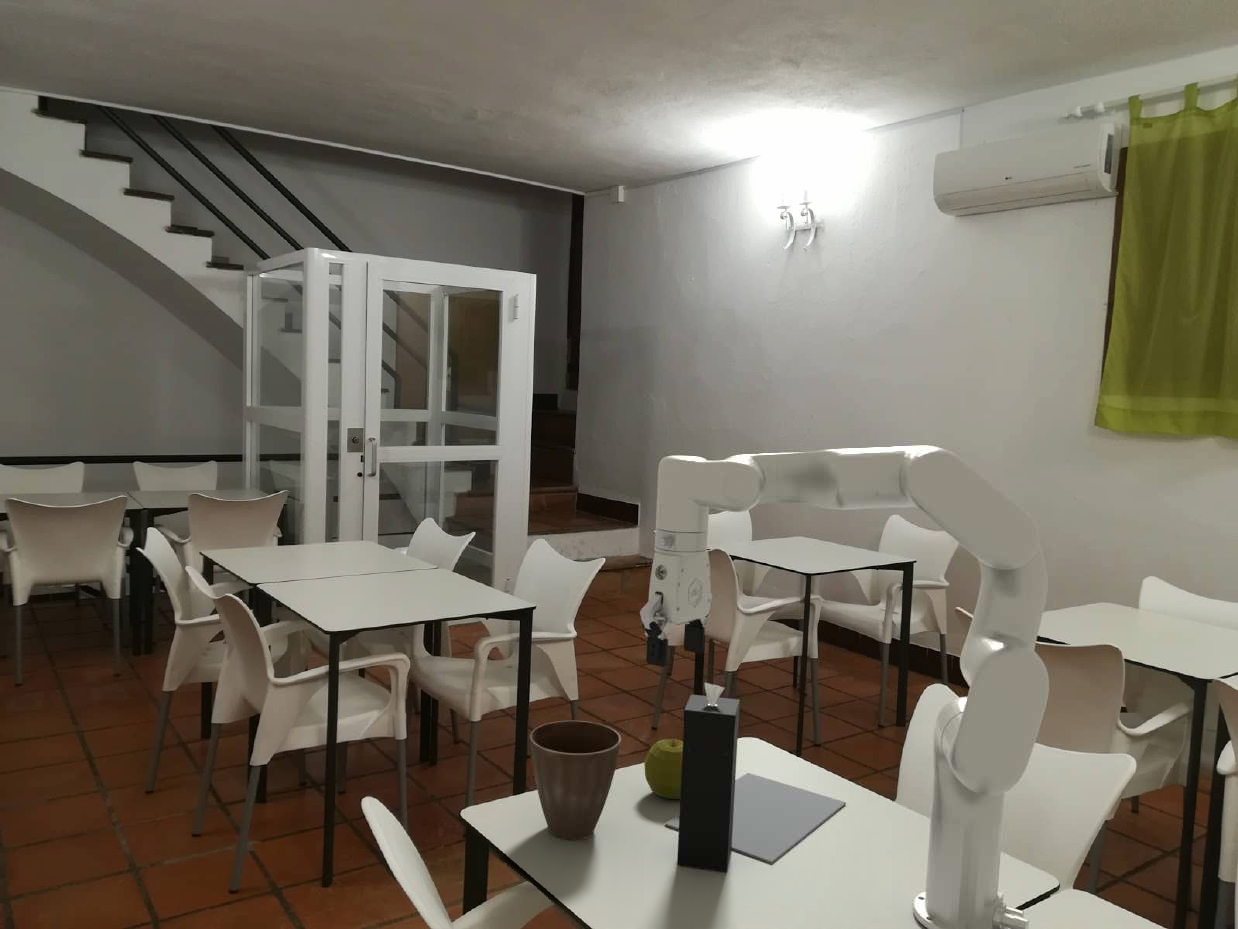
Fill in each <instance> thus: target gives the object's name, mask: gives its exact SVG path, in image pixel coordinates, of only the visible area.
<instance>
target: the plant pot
mask: <svg viewBox="0 0 1238 929" xmlns="http://www.w3.org/2000/svg"><path fill="white" fill-rule="evenodd" d="M529 740H530V751H531V759H532V767H533V768H532V769H533V773H534V779H535V780H534V781H535V784H536V788H537V793H538V798H539V802H540V806H541V809H542V812H543V815H544V816H543V817H544V818H545V822H546V825H547V828H548V830H549V833H550V832H551V833H552V834H551V833H550V834H551V835H552V836H554V835H555V836H554V837H556V838H558V837H559V839H561V838H564V839H563V840H566V839H570V840H569V841H577V839H579V840H583V839H582V838H584V839H586V838H588V837H590V836H591V835H592V834H593V833H594V831H595V829H596V826H597V825H598V823H599V821H600V818H601V816H602V812H603V810H604V807H605V805H606V802H607V799H608V795H609V793H610V790H611V786H612V783H613V781H614V776H615V771H616V767H617V763H618V758H619V754H620V753H619V752H620V749H621V748H620V747H621V742H622V737H621V734H620V733H619V732H618V731H617V730H615V729H614V728H612V727H610V726H608V725H604V724H602V723H596V722H593V721H587V720H586V721H585V720H560V721H559V720H558V721H553V722H548V723H545V724H542V725H540V726H537V727H536V728H534V729H533V730H532V731H531V733H530V735H529ZM574 839H575V840H574Z"/></svg>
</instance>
